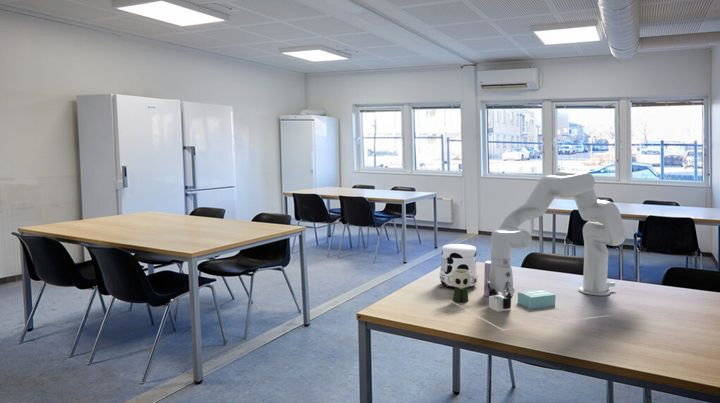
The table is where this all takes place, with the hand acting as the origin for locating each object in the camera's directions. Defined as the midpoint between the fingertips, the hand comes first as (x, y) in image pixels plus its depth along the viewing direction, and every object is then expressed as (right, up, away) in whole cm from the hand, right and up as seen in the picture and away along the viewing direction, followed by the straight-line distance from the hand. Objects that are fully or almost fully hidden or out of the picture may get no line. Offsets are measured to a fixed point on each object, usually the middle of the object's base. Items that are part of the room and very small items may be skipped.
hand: (499, 304), depth 211 cm
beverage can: (+1, 0, +19) cm, 19 cm away
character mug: (-13, -1, +11) cm, 17 cm away
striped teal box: (+16, -1, +6) cm, 17 cm away
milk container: (-10, +2, +36) cm, 37 cm away
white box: (0, -2, 0) cm, 2 cm away
